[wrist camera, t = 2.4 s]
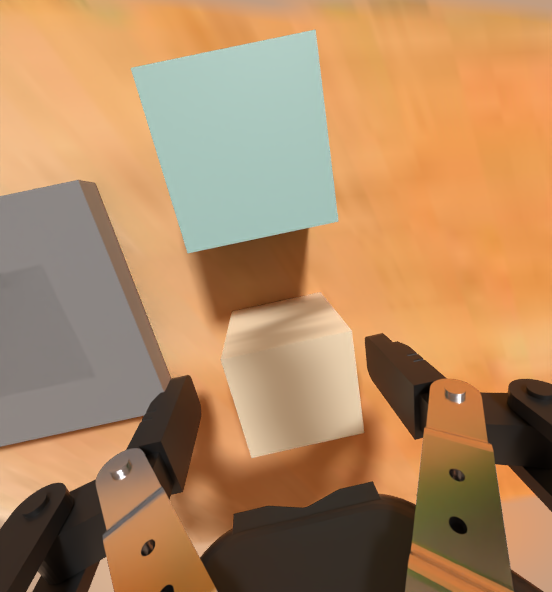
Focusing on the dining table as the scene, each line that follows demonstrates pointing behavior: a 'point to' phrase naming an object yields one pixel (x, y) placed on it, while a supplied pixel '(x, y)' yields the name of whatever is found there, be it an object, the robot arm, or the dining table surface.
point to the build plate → (69, 318)
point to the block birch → (292, 374)
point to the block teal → (242, 139)
